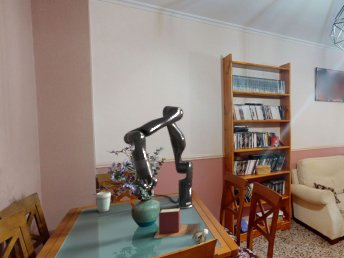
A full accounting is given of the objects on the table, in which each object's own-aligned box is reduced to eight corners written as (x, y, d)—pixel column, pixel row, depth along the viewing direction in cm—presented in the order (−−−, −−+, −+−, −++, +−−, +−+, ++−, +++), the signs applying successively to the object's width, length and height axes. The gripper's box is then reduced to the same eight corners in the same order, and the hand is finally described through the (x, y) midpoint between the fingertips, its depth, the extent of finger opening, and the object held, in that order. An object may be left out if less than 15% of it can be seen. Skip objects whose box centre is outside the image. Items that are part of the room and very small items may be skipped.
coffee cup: (113, 209, 174) (113, 192, 173) (99, 213, 166) (98, 195, 166) (107, 207, 178) (107, 190, 178) (93, 210, 171) (93, 193, 170)
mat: (153, 238, 134) (153, 238, 134) (159, 227, 148) (159, 227, 148) (197, 234, 140) (197, 233, 140) (199, 224, 153) (199, 223, 153)
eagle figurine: (191, 236, 136) (188, 241, 127) (199, 224, 137) (196, 228, 128) (203, 243, 136) (201, 248, 128) (211, 231, 138) (209, 235, 129)
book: (158, 234, 138) (158, 212, 138) (160, 230, 143) (160, 209, 143) (178, 232, 141) (178, 211, 141) (180, 228, 146) (180, 208, 145)
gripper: (157, 163, 140) (166, 191, 143) (138, 165, 143) (147, 193, 146) (147, 168, 133) (156, 198, 136) (127, 170, 136) (136, 199, 139)
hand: (151, 195), depth 141 cm, fingers closed
